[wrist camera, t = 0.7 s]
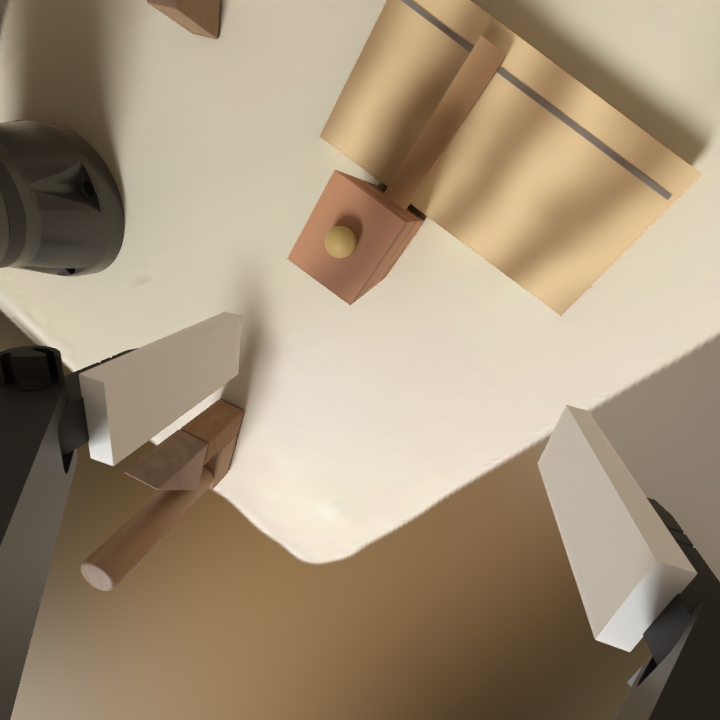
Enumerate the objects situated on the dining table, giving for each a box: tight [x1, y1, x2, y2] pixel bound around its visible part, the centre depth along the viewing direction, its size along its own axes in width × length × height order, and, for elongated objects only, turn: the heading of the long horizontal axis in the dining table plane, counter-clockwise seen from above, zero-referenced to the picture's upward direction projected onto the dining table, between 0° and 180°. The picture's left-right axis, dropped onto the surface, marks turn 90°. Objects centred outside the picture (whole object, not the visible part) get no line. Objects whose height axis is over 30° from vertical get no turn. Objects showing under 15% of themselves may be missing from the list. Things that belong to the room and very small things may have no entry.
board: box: [320, 0, 703, 315], centre depth 28 cm, size 24×12×3 cm, turn 56°
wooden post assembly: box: [81, 400, 244, 591], centre depth 38 cm, size 4×11×18 cm, turn 159°
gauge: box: [287, 35, 506, 305], centre depth 25 cm, size 5×17×13 cm, turn 146°
